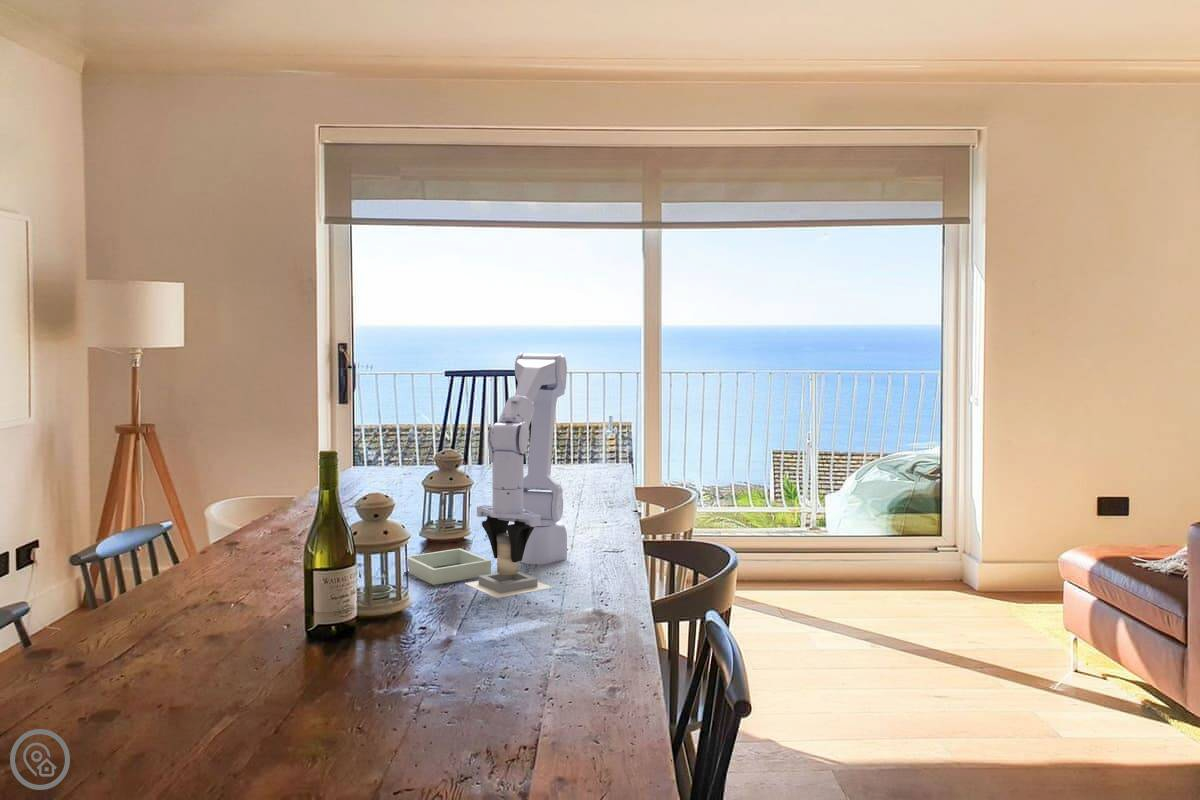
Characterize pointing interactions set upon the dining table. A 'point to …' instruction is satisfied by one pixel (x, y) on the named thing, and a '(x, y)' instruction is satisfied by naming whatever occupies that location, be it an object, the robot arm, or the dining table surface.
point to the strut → (505, 556)
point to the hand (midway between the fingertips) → (508, 559)
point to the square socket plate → (507, 584)
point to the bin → (467, 569)
